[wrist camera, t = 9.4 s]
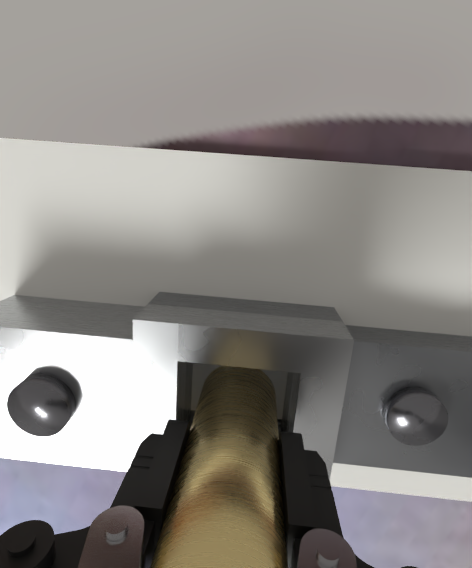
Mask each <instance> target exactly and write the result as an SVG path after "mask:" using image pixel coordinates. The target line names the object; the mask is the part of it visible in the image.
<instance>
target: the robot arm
mask: <svg viewBox="0 0 472 568" xmlns="http://www.w3.org/2000/svg"><path fill="white" fill-rule="evenodd" d="M189 432H190V421H181V420H172V419H169V420H168V422H167V425H166V427H165V430H164V432H163V434H155V433H151V434H150V435H149V436H148V437H147V438H146V439H144V440H143V441H142V442H141V443H140V445H139V448H138V450H137V452H136V454H135V457H134V458H133V460H132V462H131V465H130V468H129V469H128V471H127V473H126V475H125V477H124V480H123V482H122V484H121V486H120V488H119V490H118V492H117V495H116V497H115V499H114V501H113V503H112V505H111V507H110V508H109V509H107V510H105V511H104V512H102V513H101V514H99V515H98V516H97V517H96V518H95V520H94V521H93V522H92V524H91V526H89V527H87V528H84V529H81V530H77V531H72V532H66V533H61V534H56V535H54V531H53V529H52V527H51V526H50V525H49V524H48V523H46V522H44V521H40V520H31V521H26V522H23V523H20V524H18V525H15V526H13V527H12V528H10V529H8V530H7V531H6V532H4V533H3V534H2V535H1V536H0V568H150V566H151V563H152V560H153V556H154V553H155V549H156V546H157V542H158V539H159V535H160V532H161V529H162V526H163V522H164V519H165V515H166V512H167V508H168V505H169V502H170V498H171V495H172V491H173V488H174V484H175V481H176V477H177V474H178V470H179V467H180V464H181V460H182V457H183V453H184V450H185V446H186V443H187V439H188V436H189ZM279 454H280V468H281V482H282V496H283V510H284V524H285V538H286V548H287V559H288V568H374V567H372V566H370V565H368V564H366V563H365V562H363V561H362V560H361V559H359V558H358V557H357V556H356V555H355V554H354V552H353V550H352V548H351V547H350V545H349V544H348V543H347V542H346V540H345V539H344V538H343V535H342V531H341V527H340V523H339V518H338V514H337V510H336V506H335V501H334V497H333V493H332V491H331V484H330V480H329V476H328V472H327V467H326V463H325V462H324V460H323V459H322V458H321V456H320V455H319V454H318V452H317V451H312V450H304V444H303V438H302V434H301V433H293V432H283V431H280V433H279ZM402 568H417V567H412V566H406V567H402Z"/></svg>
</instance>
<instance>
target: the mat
mask: <svg viewBox="0 0 472 568" xmlns="http://www.w3.org/2000/svg"><path fill="white" fill-rule="evenodd" d="M159 292H169V293H180V294H191V295H202V296H214V297H225V298H236V299H247V300H258V301H270V302H281V303H292V304H303V305H315V306H326V307H334V308H335V310H336V311H337V313H338V315H339V316H340V318H341V319H342V321H343V323H344V324H345V325H351V326H362V327H373V328H384V329H395V330H406V331H417V332H428V333H439V334H450V335H461V336H472V171H461V170H447V169H433V168H419V167H405V166H391V165H377V164H363V163H349V162H335V161H321V160H307V159H293V158H279V157H264V156H250V155H236V154H222V153H208V152H194V151H180V150H166V149H152V148H138V147H124V146H109V145H96V144H82V143H68V142H54V141H40V140H39V141H38V140H26V139H11V138H0V301H2V300H4V299H6V298H8V297H11V296H13V295H22V296H33V297H44V298H55V299H66V300H77V301H88V302H99V303H110V304H121V305H132V306H143V307H145V306H146V305H147V304H148V303H149V302H150V301H151V300H152V299H153V298H154V297H155V296H156V295H157V294H158V293H159ZM220 366H222V365H212V364H201V363H193V373H192V395H191V410H196V408H197V405H198V401H199V398H200V394H201V391H202V387H203V384H204V382H205V380H206V378H207V377H208V376H209V374H210V373H211V372H212V371H214V370H215V369H217V368H218V367H220ZM260 370H261V371H263V372H264V373H265V374H266V375H267V376H268V377H269V379H270V380H271V382H272V384H273V386H274V389H275V395H276V408H277V419H282V415H283V407H284V399H285V391H286V383H287V375H288V372H283V371H273V370H263V369H260ZM330 484H331V486H334V487H343V488H352V489H361V490H371V491H380V492H389V493H398V494H407V495H416V496H425V497H434V498H443V499H452V500H461V501H470V502H472V478H469V477H459V476H450V475H441V474H432V473H422V472H413V471H404V470H395V469H385V468H376V467H367V466H358V465H348V464H339V463H333V465H332V470H331V476H330Z"/></svg>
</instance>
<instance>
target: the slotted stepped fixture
mask: <svg viewBox="0 0 472 568" xmlns="http://www.w3.org/2000/svg"><path fill="white" fill-rule="evenodd" d="M193 363H201V364H212V365H222V366H232V367H242V368H253V369H263V370H273V371H283V372H288V375H287V383H286V391H285V399H284V407H283V415H282V419H277V422H278V436H279V433H280V431H283V432H293V433H301V434H302V438H303V444H304V450H312V451H317V452H318V454H319V455H320V456H321V458H322V459H323V460H324V462H325V463H326V467H327V472H328V476H329V480H330V476H331V470H332V465H333V463H339V464H348V465H358V466H367V467H376V468H385V469H395V470H404V471H413V472H422V473H432V474H441V475H450V476H459V477H469V478H472V336H461V335H450V334H439V333H428V332H417V331H406V330H395V329H384V328H373V327H362V326H351V325H345V324H344V323H343V321H342V319H341V318H340V316H339V315H338V313H337V311H336V310H335V308H334V307H326V306H315V305H303V304H292V303H281V302H270V301H258V300H247V299H236V298H225V297H214V296H202V295H191V294H180V293H169V292H159V293H158V294H157V295H156V296H155V297H154V298H153V299H152V300H151V301H150V302H149V303H148V304H147V305H146V306H145V307H143V306H132V305H121V304H110V303H99V302H88V301H77V300H66V299H55V298H44V297H33V296H22V295H13V296H11V297H8V298H6V299H4V300H2V301H0V458H8V459H17V460H26V461H35V462H43V463H52V464H61V465H70V466H79V467H88V468H97V469H106V470H115V471H124V472H127V471H128V469H129V468H130V465H131V462H132V460H133V458H134V457H135V454H136V452H137V450H138V448H139V445H140V443H141V442H142V441H143V440H144V439H146V438H147V437H148V436H149V435H150V434H151V433H155V434H163V432H164V430H165V427H166V425H167V422H168V420H169V419H172V420H181V421H190V429H191V425H192V422H193V418H194V415H195V412H196V410H191V395H192V373H193Z"/></svg>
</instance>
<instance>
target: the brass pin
mask: <svg viewBox="0 0 472 568" xmlns="http://www.w3.org/2000/svg"><path fill="white" fill-rule="evenodd" d="M150 568H288V559H287V548H286V538H285V524H284V510H283V496H282V482H281V468H280V454H279V436H278V422H277V408H276V395H275V389H274V386H273V384H272V382H271V380H270V379H269V377H268V376H267V375H266V374H265V373H264V372H263V371H261V370H260V369H253V368H242V367H232V366H220V367H218V368H217V369H215V370H214V371H212V372H211V373H210V374H209V376H208V377H207V378H206V380H205V382H204V384H203V387H202V391H201V394H200V398H199V401H198V405H197V408H196V412H195V415H194V418H193V422H192V425H191V429H190V432H189V436H188V439H187V443H186V446H185V450H184V453H183V457H182V460H181V464H180V467H179V470H178V474H177V477H176V481H175V484H174V488H173V491H172V495H171V498H170V502H169V505H168V508H167V512H166V515H165V519H164V522H163V526H162V529H161V532H160V535H159V539H158V542H157V546H156V549H155V553H154V556H153V560H152V563H151V566H150Z"/></svg>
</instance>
